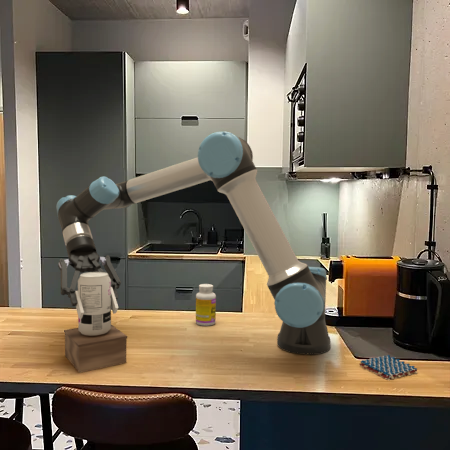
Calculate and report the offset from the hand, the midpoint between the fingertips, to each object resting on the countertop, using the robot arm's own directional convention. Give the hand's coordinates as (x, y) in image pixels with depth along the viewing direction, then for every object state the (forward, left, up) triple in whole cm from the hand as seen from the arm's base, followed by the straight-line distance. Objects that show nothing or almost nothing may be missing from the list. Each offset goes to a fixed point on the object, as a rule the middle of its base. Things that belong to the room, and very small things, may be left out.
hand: (99, 313), depth 116 cm
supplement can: (+3, 0, -6) cm, 7 cm away
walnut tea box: (+3, 0, -13) cm, 13 cm away
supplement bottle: (+15, -41, -13) cm, 46 cm away
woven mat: (-42, -60, -14) cm, 74 cm away
